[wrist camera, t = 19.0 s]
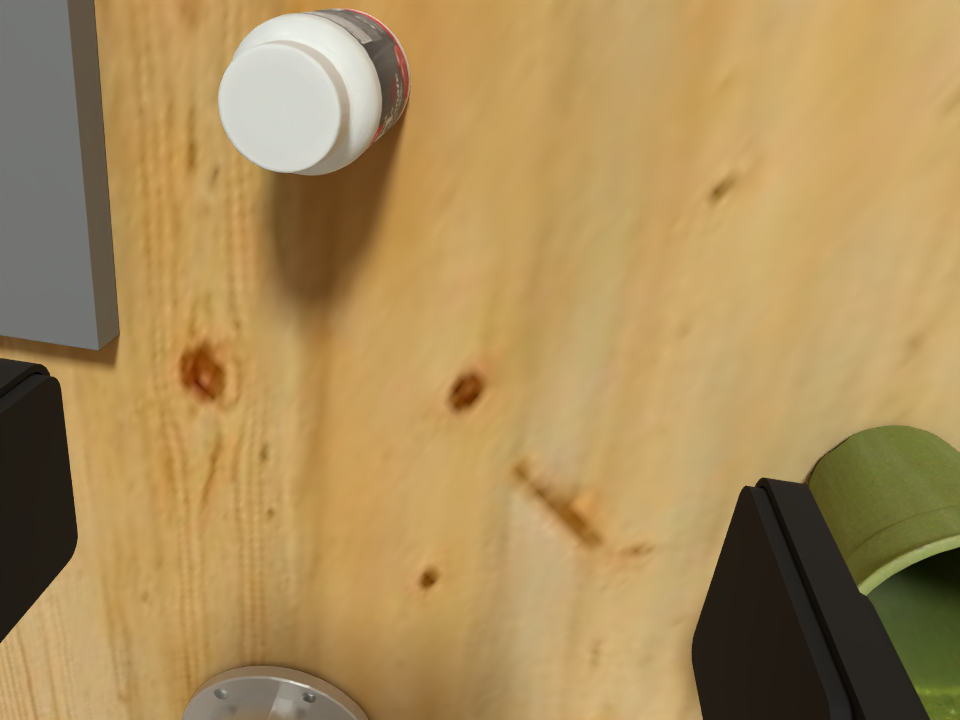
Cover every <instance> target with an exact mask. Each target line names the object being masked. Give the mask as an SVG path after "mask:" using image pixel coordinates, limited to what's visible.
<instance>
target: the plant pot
mask: <svg viewBox="0 0 960 720" xmlns="http://www.w3.org/2000/svg"><path fill="white" fill-rule="evenodd" d="M809 489H810V491H811V493H812V495H813V497H814V499H815V501H816V503H817V505H818V507H819V509H820V511H821V513H822V515H823V517H824V519H825V522H826V524H827V526H828V528H829V530H830V532H831V534H832V536H833V538H834V540H835V542H836V544H837V546H838V548H839V550H840V552H841V554H842V556H843V559H844V561H845V563H846V565H847V567H848V569H849V571H850V573H851V575H852V577H853V579H854V581H855V583H856V585H857V587H858V589H859V591H860V593H862V594H864V595H865V596H867V597H868V598H869V600H870V601H871V603H872V604H873V605H874V607H875V609H876V611H877V613H878V615H879V617H880V619H881V621H882V623H883V625H884V627H885V629H886V631H887V633H888V635H889V638H890V640H891V642H892V644H893V646H894V648H895V650H896V652H897V654H898V656H899V658H900V660H901V662H902V664H903V666H904V668H905V670H906V672H907V674H908V676H909V678H910V680H911V682H912V684H913V686H914V688H915V690H916V692H917V694H918V696H919V698H920V700H921V702H922V704H923V706H924V708H925V710H926V712H927V714H928V716H929V718H930V720H960V452H958V451H957V450H956V449H955V448H953V447H952V446H951V445H949V444H948V443H947V442H945V441H944V440H942V439H941V438H939V437H938V436H936V435H934V434H932V433H930V432H927V431H924V430H921V429H917V428H913V427H908V426H884V427H877V428H872V429H868V430H864V431H862V432H859V433H857V434H854V435H852V436H851V437H849V438H848V439H847V440H846V441H845V442H844V443H842V444H841V445H840V446H838V447H837V448H836V449H834V450H833V451H831V452H830V453H828V454H826V455H825V456H824V457H823V458H822V459H821V460H820V462H819V463H818V465H817V466H816V468H815V470H814V472H813V474H812V476H811V479H810V482H809Z"/></svg>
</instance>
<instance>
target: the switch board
mask: <svg viewBox="0 0 960 720" xmlns="http://www.w3.org/2000/svg"><path fill="white" fill-rule="evenodd" d="M0 335H2V336H9V337H15V338H21V339H28V340H34V341H41V342H47V343H54V344H60V345H66V346H73V347H79V348H86V349H92V350H98V351H99V350H100V349H101V348H103V347H104V346H105V345H106V344H108V343H109V342H110V341H111V340H112V339H114V338H115V337H116V336H117V335H119V322H118V309H117V296H116V283H115V270H114V257H113V244H112V231H111V218H110V205H109V192H108V179H107V166H106V153H105V140H104V127H103V114H102V101H101V88H100V75H99V62H98V49H97V36H96V23H95V10H94V0H0Z"/></svg>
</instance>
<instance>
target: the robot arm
mask: <svg viewBox="0 0 960 720" xmlns="http://www.w3.org/2000/svg"><path fill="white" fill-rule="evenodd" d="M77 539H78V532H77V523H76V514H75V506H74V497H73V488H72V480H71V471H70V463H69V454H68V445H67V437H66V428H65V419H64V411H63V402H62V393H61V387H60V383H59V381H58V380H57V379H56V378H55V377H51V376H50V373H49V372H48V370H47V368H46V367H45V366H43V365H42V364H36V363H29V362H23V361H16V360H10V359H4V358H0V643H1V642H2V640H3V639H4V638H5V637H6V636H7V635H8V633H9V632H10V631H11V630H12V629H13V627H14V626H15V625H16V624H17V623H18V621H19V620H20V619H21V618H22V617H23V616H24V614H25V613H26V612H27V611H28V610H29V608H30V607H31V606H32V605H33V604H34V602H35V601H36V600H37V599H38V598H39V597H40V595H41V594H42V593H43V592H44V591H45V589H46V588H47V587H48V586H49V585H50V583H51V582H52V581H53V580H54V579H55V578H56V576H57V575H58V574H59V573H60V572H61V570H62V569H63V568H64V567H65V566H66V564H67V563H68V562H69V561H70V559H71V558H72V556H73V554H74V551H75V548H76V545H77ZM692 664H693V669H694V675H695V680H696V685H697V690H698V695H699V701H700V706H701V711H702V716H703V720H930V718H929V716H928V714H927V712H926V710H925V708H924V706H923V704H922V702H921V700H920V698H919V696H918V694H917V692H916V690H915V688H914V686H913V684H912V682H911V680H910V678H909V676H908V674H907V672H906V670H905V668H904V666H903V664H902V662H901V660H900V658H899V656H898V654H897V652H896V650H895V648H894V646H893V644H892V642H891V640H890V638H889V635H888V633H887V631H886V629H885V627H884V625H883V623H882V621H881V619H880V617H879V615H878V613H877V611H876V609H875V607H874V605H873V604H872V603H871V601H870V600H869V598H868V597H867V596H865V595H864V594H862V593H860V591H859V589H858V587H857V585H856V583H855V581H854V579H853V577H852V575H851V573H850V571H849V569H848V567H847V565H846V563H845V561H844V559H843V556H842V554H841V552H840V550H839V548H838V546H837V544H836V542H835V540H834V538H833V536H832V534H831V532H830V530H829V528H828V526H827V524H826V522H825V519H824V517H823V515H822V513H821V511H820V509H819V507H818V505H817V503H816V501H815V499H814V497H813V495H812V493H811V491H810V489H809V488H808V486H807V485H805V484H801V483H795V482H789V481H782V480H776V479H769V478H761V479H759V481H758V482H757V484H756V485H755V487H751V486H745V487H743V489H742V490H741V492H740V495H739V498H738V501H737V504H736V507H735V510H734V513H733V516H732V519H731V522H730V525H729V528H728V531H727V535H726V538H725V541H724V544H723V547H722V550H721V553H720V556H719V559H718V562H717V565H716V568H715V571H714V575H713V578H712V581H711V584H710V587H709V590H708V593H707V596H706V599H705V602H704V605H703V608H702V611H701V615H700V618H699V621H698V624H697V627H696V630H695V633H694V637H693V643H692ZM182 720H369V719H368V718H367V716H366V714H365V713H364V712H363V711H362V710H361V708H360V707H359V706H358V705H357V704H356V703H355V702H354V701H353V700H352V699H351V698H350V697H348V696H347V695H346V694H344V693H343V692H342V691H341V690H339V689H338V688H336V687H334V686H333V685H331V684H329V683H327V682H326V681H324V680H322V679H320V678H317V677H315V676H312V675H310V674H307V673H305V672H301V671H297V670H293V669H289V668H284V667H275V666H246V667H241V668H236V669H231V670H228V671H226V672H223V673H221V674H218V675H215V676H214V677H212V678H211V679H209V680H208V681H206V682H205V683H203V684H202V685H201V686H200V687H199V688H198V690H197V691H196V692H195V693H194V694H193V696H192V698H191V700H190V701H189V703H188V705H187V707H186V709H185V711H184V714H183V717H182Z"/></svg>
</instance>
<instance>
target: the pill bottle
mask: <svg viewBox="0 0 960 720" xmlns="http://www.w3.org/2000/svg"><path fill="white" fill-rule="evenodd" d="M410 79H411V78H410V69H409V64H408V60H407V57H406V54H405V52H404V49H403V47H402V45H401V43H400V42H399V40H398V39H397V37H396V36H395V35H394V33H393V32H392V31H391V30H390V29H389V28H388V27H387V26H386V25H384V24H383V23H382V22H381V21H379V20H378V19H376V18H375V17H373V16H371V15H369V14H367V13H364V12H361V11H358V10H353V9H343V8H337V9H326V10H319V11H312V12H303V13H293V14H285V15H282V16H278V17H275V18H272V19H270V20H268V21H266V22H264V23H262V24H260V25H259V26H257V27H256V28H254V29H253V30H252V31H251V32H250V33H249V34H248V35H247V36H246V37H245V38H244V39H243V41H242V42H241V44H240V45H239V47H238V48H237V50H236V52H235V54H234V57H233V59H232V62H231V64H230V65H229V66H228V68H227V69H226V71H225V73H224V75H223V78H222V81H221V84H220V87H219V94H218V108H219V115H220V118H221V122H222V125H223V127H224V130H225V132H226V134H227V136H228V138H229V139H230V141H231V142H232V144H233V145H234V146H235V148H236V149H237V150H238V151H239V152H240V153H241V154H242V155H243V156H244V157H245V158H247V159H248V160H249V161H251V162H252V163H254V164H256V165H257V166H259V167H261V168H263V169H267V170H270V171H274V172H280V173H294V174H300V175H323V174H328V173H331V172H334V171H337V170H339V169H341V168H343V167H345V166H347V165H349V164H350V163H352V162H353V161H355V160H356V159H357V158H358V157H360V156H361V155H362V154H363V153H364V152H365V151H366V150H367V149H368V148H369V147H370V146H371V145H373V144H374V143H375V142H376V141H377V140H378V139H379V138H381V137H382V136H383V135H384V134H385V133H386V132H387V131H388V130H389V129H390V128H391V127H392V126H393V125H394V124H395V123H396V122H397V121H398V119H399V118H400V116H401V115H402V113H403V111H404V109H405V106H406V104H407V101H408V97H409V93H410Z"/></svg>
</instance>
